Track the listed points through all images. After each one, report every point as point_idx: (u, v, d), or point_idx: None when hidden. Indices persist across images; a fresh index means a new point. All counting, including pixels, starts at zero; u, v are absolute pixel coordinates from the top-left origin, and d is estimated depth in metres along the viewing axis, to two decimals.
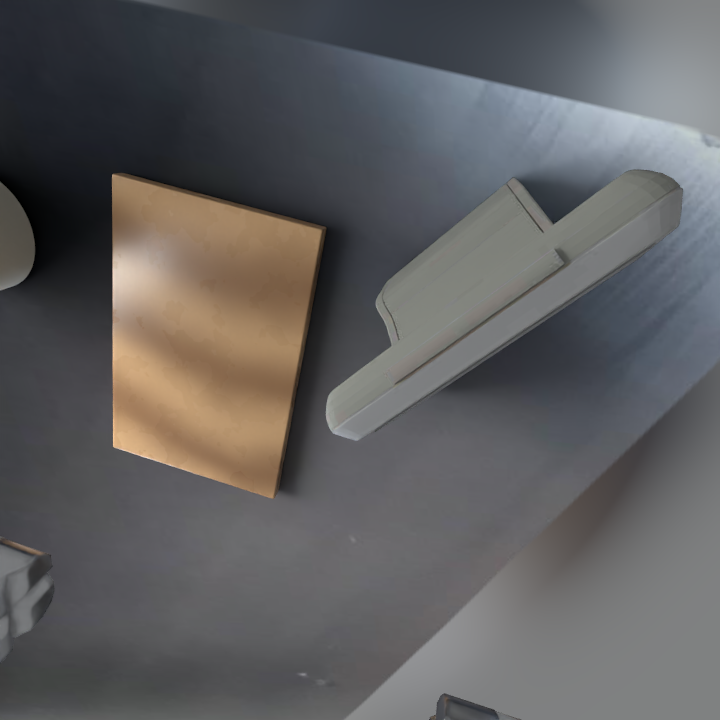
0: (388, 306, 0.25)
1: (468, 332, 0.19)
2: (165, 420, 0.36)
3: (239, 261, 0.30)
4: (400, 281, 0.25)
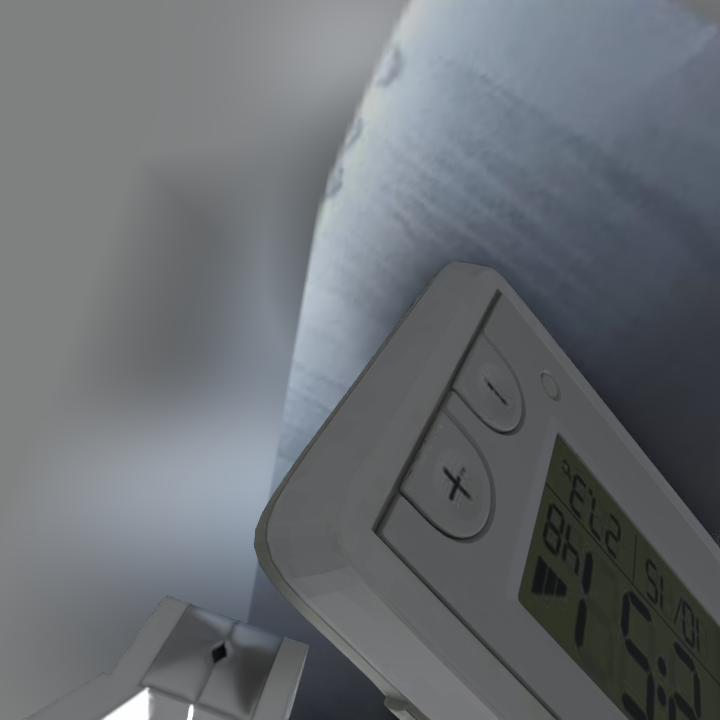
0: None
1: None
2: None
3: None
4: None
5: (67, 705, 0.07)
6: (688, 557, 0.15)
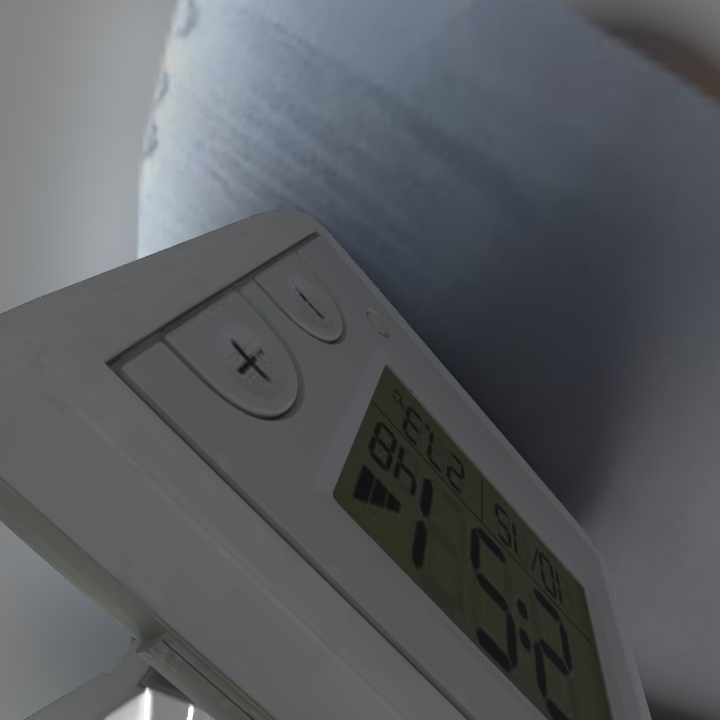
0: None
1: None
2: None
3: None
4: None
5: (67, 705, 0.07)
6: (539, 512, 0.14)
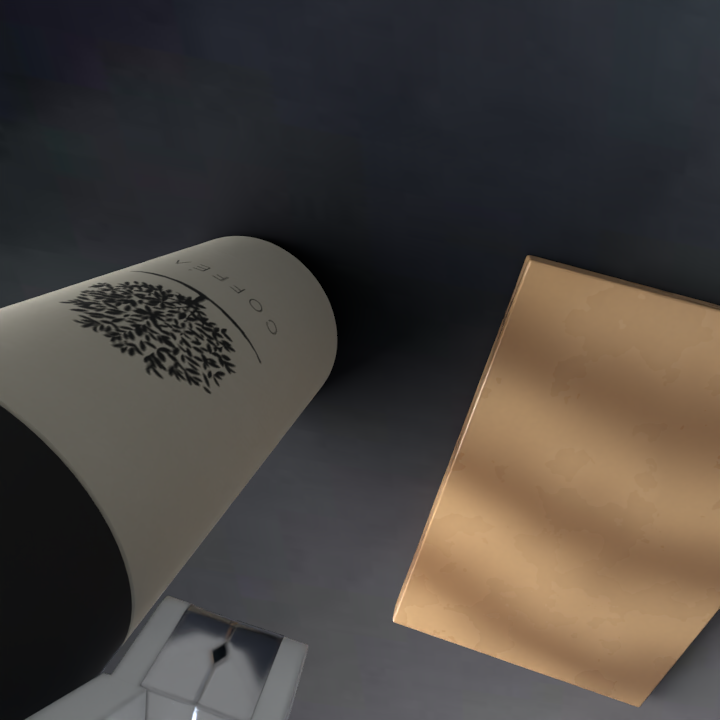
0: None
1: None
2: (494, 599, 0.24)
3: None
4: None
5: (67, 706, 0.07)
6: None
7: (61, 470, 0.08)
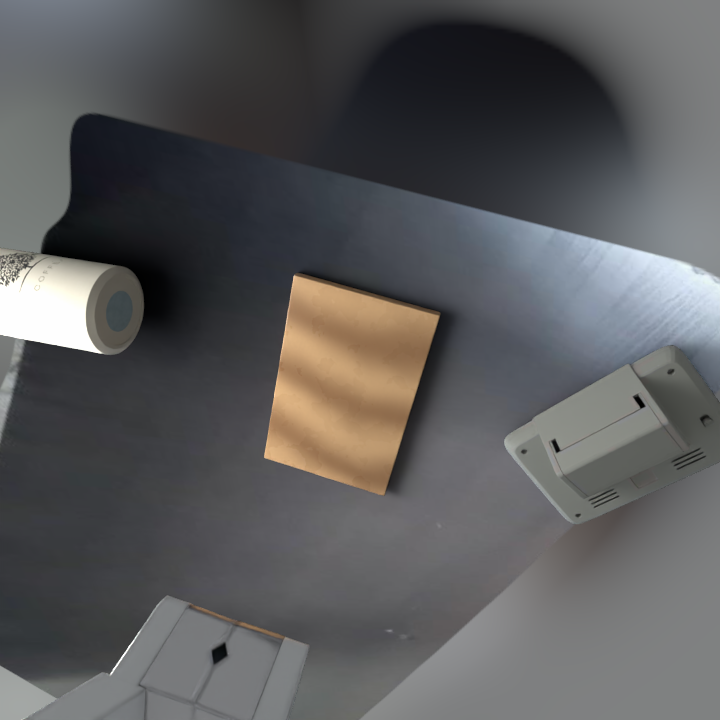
0: None
1: None
2: (308, 439, 0.50)
3: (378, 333, 0.44)
4: (601, 489, 0.40)
5: (66, 705, 0.07)
6: None
7: None
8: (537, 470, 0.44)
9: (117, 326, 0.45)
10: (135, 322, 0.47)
